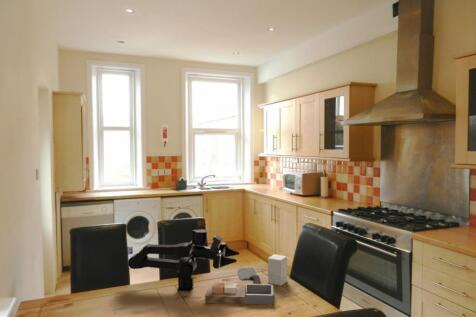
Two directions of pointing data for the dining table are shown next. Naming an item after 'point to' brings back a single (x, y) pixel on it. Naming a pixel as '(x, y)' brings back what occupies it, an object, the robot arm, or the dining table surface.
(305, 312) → the dining table surface
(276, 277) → the supplement box
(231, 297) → the tan board
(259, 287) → the box
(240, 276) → the cleaver
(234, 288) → the cream tile
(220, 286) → the terracotta tile
